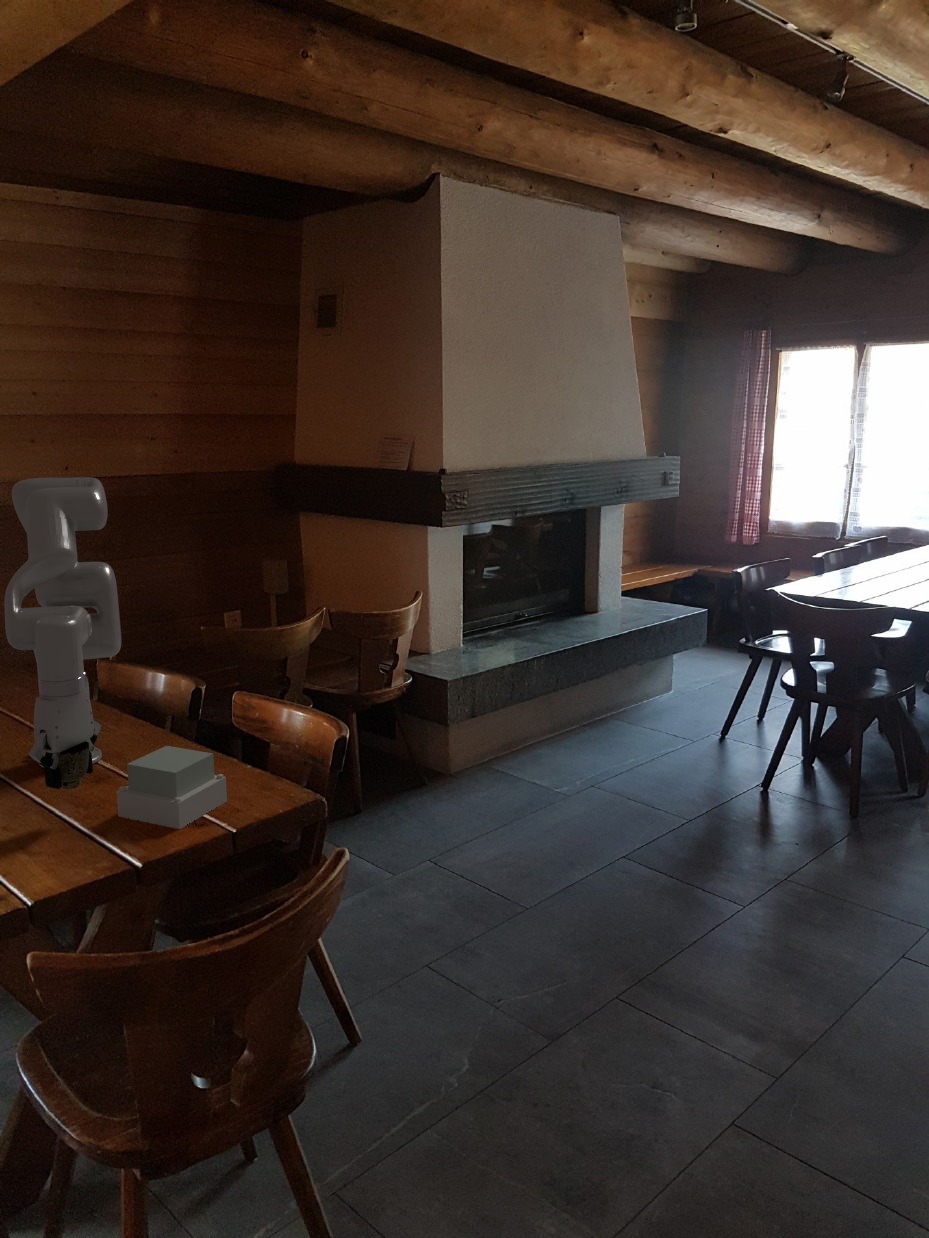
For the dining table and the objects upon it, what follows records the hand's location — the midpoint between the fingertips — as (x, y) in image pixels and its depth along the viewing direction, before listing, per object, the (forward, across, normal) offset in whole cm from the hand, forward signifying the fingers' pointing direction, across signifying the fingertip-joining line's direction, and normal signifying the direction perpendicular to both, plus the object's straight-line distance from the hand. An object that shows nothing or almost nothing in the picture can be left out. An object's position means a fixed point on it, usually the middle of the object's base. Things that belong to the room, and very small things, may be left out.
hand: (69, 778), depth 177 cm
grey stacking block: (+8, -12, +13) cm, 20 cm away
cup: (+2, 0, 0) cm, 2 cm away
